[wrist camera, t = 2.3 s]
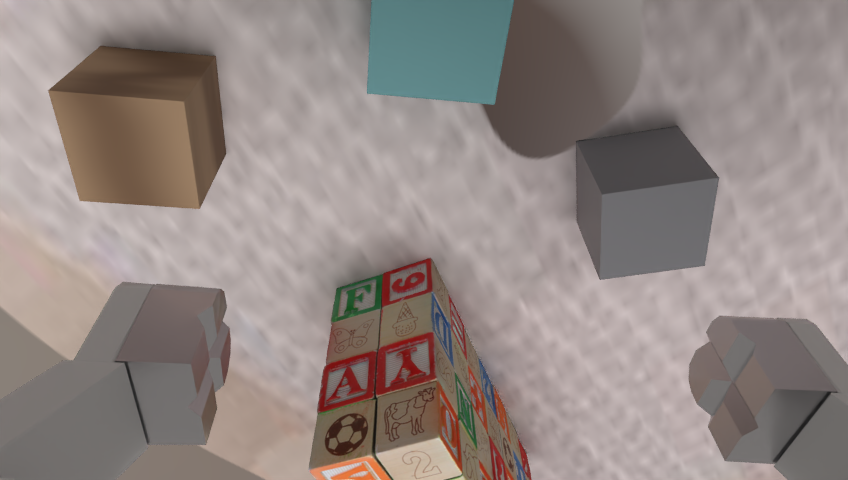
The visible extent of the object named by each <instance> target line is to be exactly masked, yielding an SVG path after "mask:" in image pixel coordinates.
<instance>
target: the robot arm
mask: <svg viewBox="0 0 848 480" xmlns="http://www.w3.org/2000/svg"><path fill="white" fill-rule="evenodd" d="M226 308H227V305H226V299H225V293H224V291H223V290H222V289H217V288H204V287H191V286H178V285H165V284H156V285H154V284H143V283H131V282H122V283H121V284H120V285H118V286H117V287H116V288H115V289H114V290H113V292H112V294H111V296H110V297H109V299H108V301H107V303H106V304H105V306H104V308H103V310H102V311H101V313H100V315H99V317H98V318H97V320H96V322H95V324H94V325H93V327H92V329H91V331H90V332H89V334H88V336H87V337H86V339H85V341H84V343H83V344H82V346H81V348H80V350H79V351H78V353H77V355H76V357H75V358H74V360H73V361H72V360H62V361H61V362H59V363H58V364H56V365H54V366H53V367H51V368H49V369H48V370H46V371H45V372H43V373H41V374H40V375H38V376H37V377H35V378H34V379H32V380H30V381H29V382H27V383H26V384H24V385H22V386H21V387H19V388H18V389H16V390H15V391H13V392H11V393H10V394H8V395H7V396H5V397H3V398H2V399H0V480H116V479H117V478H118V477H119V476H120V475H121V474H122V473H123V472H124V471H125V470H126V469H127V468H128V467H129V466H130V465H131V464H132V463H133V462H134V461H135V460H136V459H137V458H138V457H140V456H141V454H142V453H144V452H145V451H146V450H147V449H148V445H206V444H207V440H208V437H209V434H210V430H211V427H212V424H213V420H214V417H215V414H216V410H217V405H216V398H215V392H216V391H217V390H219V389H220V388H221V387H222V386H223V385H224V383H225V379H226V375H227V372H228V366H229V359H230V345H231V338H230V329H229V327H228V326H227V325H226V324H225V323H224V322H223V318H224V315H225V312H226ZM706 333H707V336H708V338H709V341H710V342H708V343H707V344H705V345H704V346H702V347H701V348H699V349H697V350H696V352H695V354H694V356H693V358H692V360H691V362H690V365H689V384H690V388H691V392H692V394H693V396H694V399H695V401H696V403H697V404H698V405H699V406H700V407H701V408H702V409H704V410H705V411H706V412H707V413H709V414H710V415H711V418H710V421H709V425H708V428H709V430H710V432H711V434H712V436H713V438H714V440H715V442H716V444H717V446H718V448H719V450H720V452H721V454H722V456H723V458H724V460H725V461H733V462H750V463H767V464H775V465H774V467H775V468H776V469H777V470H778V471H779V472H780V473H781V474H782V475H783V476H784V477H785V478H786V479H787V480H848V365H847V363H846V362H845V361H844V360H843V358H842V357H841V356H840V355H839V353H838V352H837V351H836V350H835V348H834V347H833V346H832V344H831V343H830V342H829V341H828V339H827V338H826V337H825V336H824V334H823V333H822V332H821V331H820V329H819V328H818V327H817V325H815V324H814V323H812V322H811V321H809V320H807V319H791V318H776V319H774V318H759V317H738V316H719V317H717V318H716V319H715V320H713V321H712V323H711V324H710V326H709V328H708V330H707V331H706Z"/></svg>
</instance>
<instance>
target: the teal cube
mask: <svg viewBox="0 0 848 480" xmlns="http://www.w3.org/2000/svg"><path fill="white" fill-rule="evenodd" d="M513 3H514V0H372V2H371V22H370V42H369V62H368V81H367V94H379V95H390V96H402V97H413V98H424V99H436V100H447V101H459V102H470V103H481V104H493V105H494V104H495V99H496V94H497V89H498V83H499V78H500V73H501V67H502V62H503V57H504V51H505V46H506V41H507V35H508V30H509V25H510V19H511V14H512V8H513Z"/></svg>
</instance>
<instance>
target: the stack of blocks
mask: <svg viewBox="0 0 848 480" xmlns="http://www.w3.org/2000/svg"><path fill="white" fill-rule="evenodd" d="M331 325H332V327H331V333H330V339H329V345H328V350H327V358H326V366H325V367H324V370H323V376H322V381H321V389H320V394H319V402H318V409H317V413H318V416H317V422H316V427H315V433H314V439H313V445H312V451H311V457H310V463H309V472H310V473H311V474H312V475H313V477H314V478H315V479H316V480H531V473H530V468H529V464H528V459H527V455H526V453H525V451H524V449H523V447H522V445H521V443H520V441H519V439H518V437H517V433H516V431H515V429H514V427H513V425H512V423H511V421H510V419H509V417H508V415H507V413H506V412H505V408H504V406H503V404H502V402H501V400H500V398H499V396H498V394H497V392H496V390H495V387H494V386H493V385H492V384H491V382H490V380H489V378H488V376H487V374H486V372H485V370H484V368H483V366H482V363H481V361H480V359H479V358H478V357H477V354H476V352H475V350H474V348H473V346H472V344H471V342H470V340H469V338H468V336H467V334H466V332H465V330H464V325H463V323H462V321H461V319H460V317H459V315H458V313H457V311H456V309H455V306H454V304H453V302H452V300H451V298H450V296H449V294H448V291H447V289H446V287H445V285H444V283H443V281H442V279H441V276H440V274H439V272H438V270H437V268H436V266H435V264H434V262H433V260H432V259H431V258H430V259H426V260H423V261H420V262H417V263H414V264H411V265H407V266H404V267H401V268H398V269H395V270H392V271H389V272H386V273H384V274H382V275H379V276H376V277H372V278H369V279H366V280H363V281H360V282H356V283H353V284H350V285H347V286H344V287H340V288H337V289H336V295H335V301H334V305H333V312H332V318H331Z"/></svg>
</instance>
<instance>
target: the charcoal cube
mask: <svg viewBox="0 0 848 480" xmlns="http://www.w3.org/2000/svg"><path fill="white" fill-rule="evenodd" d="M718 180H719V177H718V176H717V175H716V173H715V172H714V171H713V170H712V168H711V167H710V166H709V165H708V163H707V162H706V161H705V160H704V158H703V157H702V156H701V155H700V153H699V152H698V151H697V150H696V148H695V147H694V146H693V145H692V144H691V142H690V141H689V140H688V139H687V137H686V136H685V135H684V134H683V132H682V131H681V130H680V129H679V127H678V126H675V127H669V128H662V129H656V130H649V131H642V132H636V133H629V134H623V135H616V136H610V137H603V138H596V139H590V140H585V139H584V140H578V141H576V182H577V223H578V226H579V229H580V231H581V234H582V236H583V239H584V241H585V244H586V246H587V249H588V251H589V254H590V256H591V259H592V261H593V264H594V266H595V269H596V271H597V274H598V276H599V279H600V280H602V279H610V278H617V277H625V276H632V275H639V274H647V273H654V272H662V271H669V270H677V269H684V268H691V267H699V266H705V261H706V254H707V248H708V242H709V236H710V230H711V224H712V217H713V211H714V205H715V199H716V193H717V187H718Z"/></svg>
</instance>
